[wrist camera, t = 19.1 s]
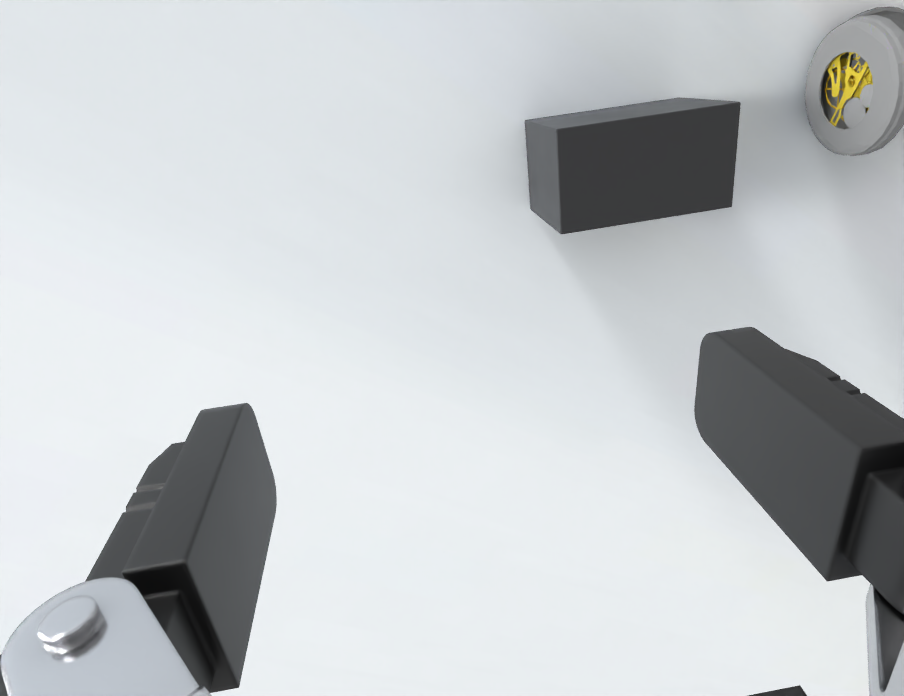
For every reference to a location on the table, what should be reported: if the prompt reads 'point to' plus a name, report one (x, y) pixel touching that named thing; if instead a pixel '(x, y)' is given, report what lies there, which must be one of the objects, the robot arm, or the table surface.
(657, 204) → the dark grey rectangular block
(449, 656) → the table surface
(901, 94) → the pocket watch
